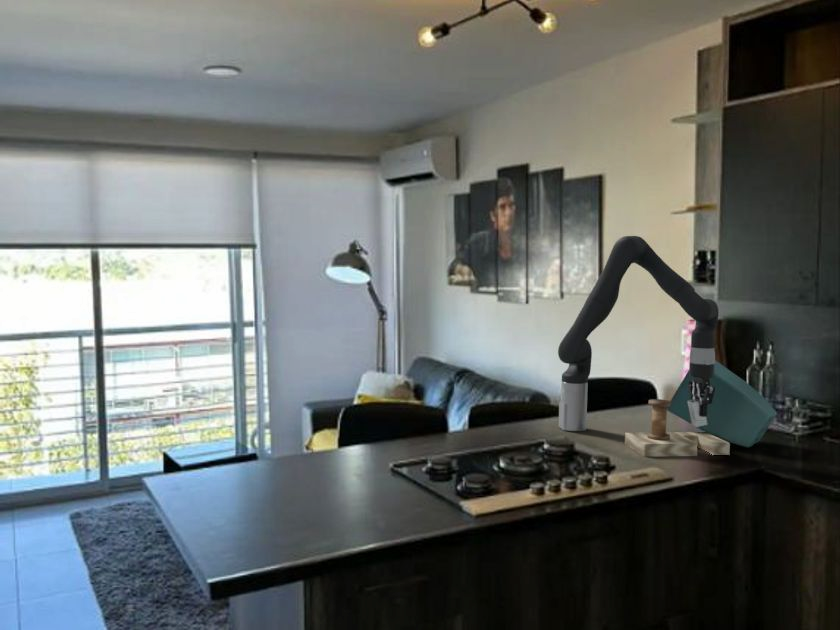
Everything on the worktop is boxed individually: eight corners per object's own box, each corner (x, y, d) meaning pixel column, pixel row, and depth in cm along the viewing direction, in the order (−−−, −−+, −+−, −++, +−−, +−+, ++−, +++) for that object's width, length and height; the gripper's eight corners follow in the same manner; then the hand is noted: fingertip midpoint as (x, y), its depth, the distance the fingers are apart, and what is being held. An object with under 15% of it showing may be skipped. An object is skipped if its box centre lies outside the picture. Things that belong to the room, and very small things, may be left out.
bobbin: (652, 440, 239) (654, 403, 239) (643, 435, 246) (645, 399, 246) (673, 440, 240) (675, 403, 239) (664, 435, 247) (665, 399, 246)
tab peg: (707, 424, 239) (702, 400, 239) (697, 427, 239) (692, 402, 238) (702, 422, 243) (697, 398, 242) (692, 424, 242) (687, 400, 242)
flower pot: (772, 407, 237) (693, 360, 252) (738, 459, 243) (664, 409, 258) (787, 402, 252) (713, 358, 268) (755, 451, 258) (684, 404, 274)
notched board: (644, 456, 235) (644, 443, 234) (624, 444, 251) (625, 432, 250) (729, 455, 238) (729, 443, 238) (704, 443, 254) (705, 431, 253)
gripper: (680, 359, 246) (678, 411, 247) (701, 364, 232) (699, 419, 233) (702, 359, 247) (700, 411, 248) (724, 364, 233) (722, 419, 234)
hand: (700, 415), depth 241 cm, fingers closed on tab peg, 3 cm apart
